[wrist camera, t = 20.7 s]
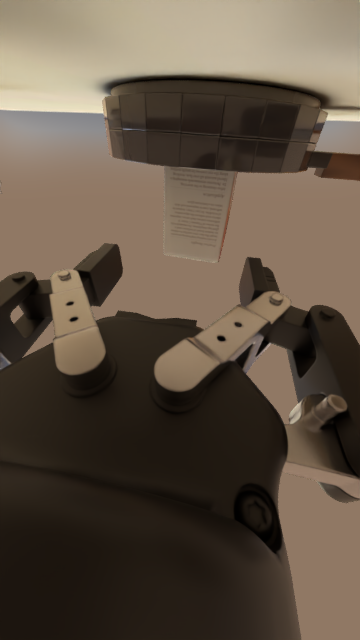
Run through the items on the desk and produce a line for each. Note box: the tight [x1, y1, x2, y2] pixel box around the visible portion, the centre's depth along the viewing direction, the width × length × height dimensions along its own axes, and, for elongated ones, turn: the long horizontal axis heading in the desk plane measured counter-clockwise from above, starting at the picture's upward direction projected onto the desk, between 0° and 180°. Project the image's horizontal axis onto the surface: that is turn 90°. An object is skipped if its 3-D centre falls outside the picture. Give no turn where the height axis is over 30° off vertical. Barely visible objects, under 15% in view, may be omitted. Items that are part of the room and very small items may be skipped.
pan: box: [102, 80, 328, 173], centre depth 17 cm, size 16×16×4 cm
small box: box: [164, 166, 238, 263], centre depth 19 cm, size 8×6×10 cm
